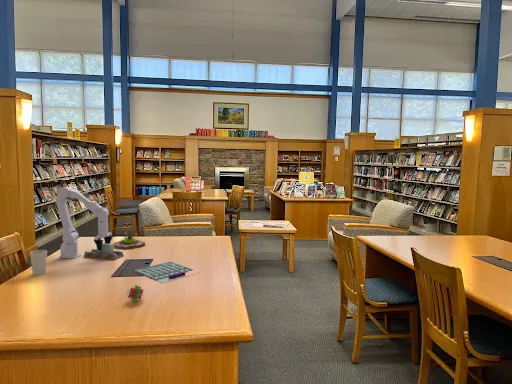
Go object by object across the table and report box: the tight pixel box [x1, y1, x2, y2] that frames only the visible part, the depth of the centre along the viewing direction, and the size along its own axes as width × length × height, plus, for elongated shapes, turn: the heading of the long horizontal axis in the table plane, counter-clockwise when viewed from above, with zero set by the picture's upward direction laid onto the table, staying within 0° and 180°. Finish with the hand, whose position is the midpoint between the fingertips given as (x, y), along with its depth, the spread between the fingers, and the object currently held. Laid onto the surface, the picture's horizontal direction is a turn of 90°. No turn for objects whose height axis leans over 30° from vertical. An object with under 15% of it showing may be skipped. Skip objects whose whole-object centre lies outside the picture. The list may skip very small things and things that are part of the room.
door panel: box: [96, 242, 114, 254], centre depth 230 cm, size 10×3×7 cm, turn 76°
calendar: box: [133, 261, 194, 284], centre depth 202 cm, size 27×28×2 cm
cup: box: [29, 249, 48, 276], centre depth 195 cm, size 8×8×12 cm
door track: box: [82, 248, 125, 261], centre depth 230 cm, size 22×10×3 cm, turn 76°
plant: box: [113, 231, 146, 251], centre depth 259 cm, size 20×20×11 cm
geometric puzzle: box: [126, 284, 145, 303], centre depth 160 cm, size 7×7×8 cm
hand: (103, 248), depth 230 cm, fingers open, 7 cm apart
